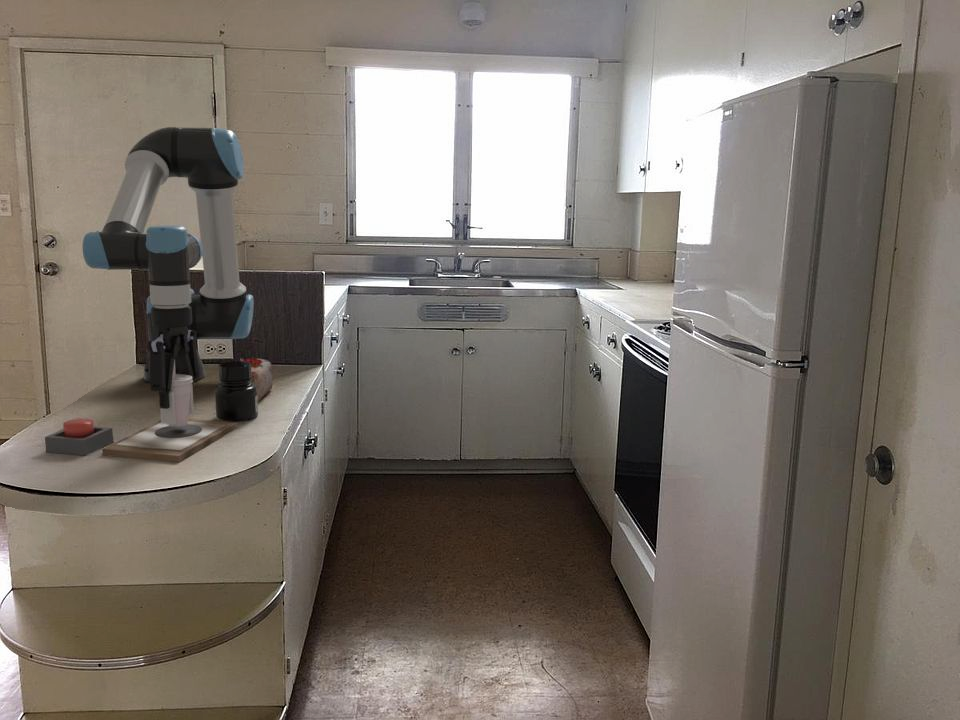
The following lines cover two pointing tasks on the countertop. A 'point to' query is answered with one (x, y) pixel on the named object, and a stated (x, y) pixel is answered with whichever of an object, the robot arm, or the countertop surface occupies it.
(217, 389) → the ink bottle
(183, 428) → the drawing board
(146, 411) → the countertop surface
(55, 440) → the button housing
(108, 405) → the countertop surface
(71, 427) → the button
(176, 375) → the smoothie
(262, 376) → the food item
